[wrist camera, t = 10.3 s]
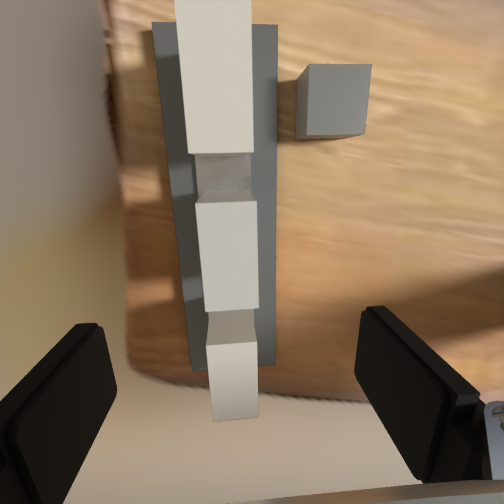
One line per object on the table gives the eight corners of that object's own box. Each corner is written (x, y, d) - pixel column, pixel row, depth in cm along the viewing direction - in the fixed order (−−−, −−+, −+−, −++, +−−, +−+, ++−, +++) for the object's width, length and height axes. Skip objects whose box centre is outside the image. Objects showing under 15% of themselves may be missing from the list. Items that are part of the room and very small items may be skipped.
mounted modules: (242, 51, 21) (250, -11, 14) (250, 355, 31) (258, 417, 23) (192, 50, 21) (172, -14, 13) (216, 358, 30) (212, 422, 23)
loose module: (247, 190, 25) (256, 201, 17) (249, 268, 27) (258, 308, 20) (203, 191, 24) (192, 203, 17) (209, 271, 27) (203, 312, 19)
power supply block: (349, 79, 24) (371, 64, 20) (344, 138, 26) (364, 133, 22) (296, 80, 24) (309, 64, 20) (294, 139, 25) (306, 135, 22)
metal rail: (247, 46, 22) (248, 44, 21) (254, 356, 31) (254, 358, 31) (185, 45, 21) (185, 43, 21) (212, 359, 31) (212, 362, 31)
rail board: (275, 31, 22) (277, 24, 21) (273, 357, 33) (275, 364, 32) (155, 29, 22) (151, 21, 20) (193, 364, 32) (192, 371, 31)
